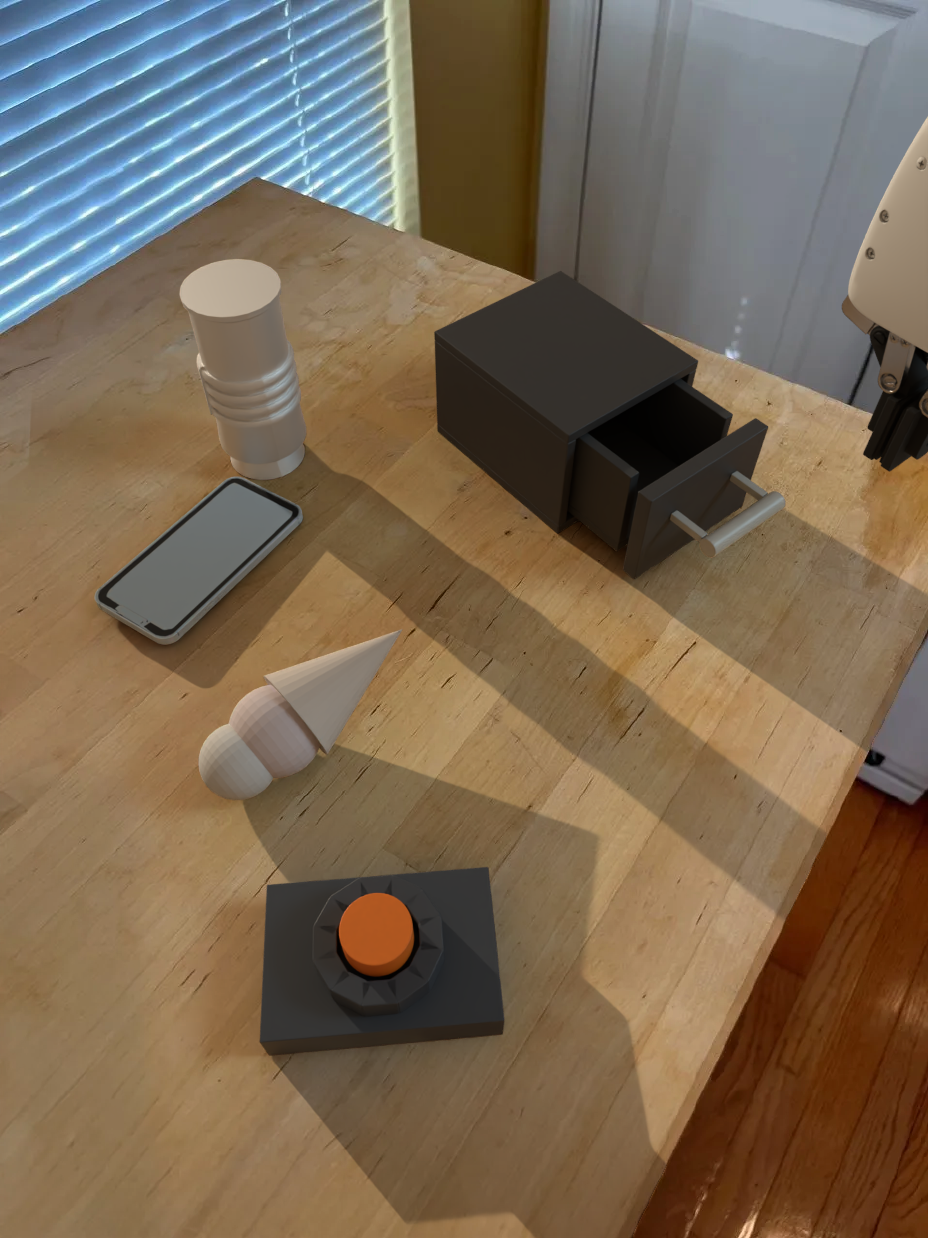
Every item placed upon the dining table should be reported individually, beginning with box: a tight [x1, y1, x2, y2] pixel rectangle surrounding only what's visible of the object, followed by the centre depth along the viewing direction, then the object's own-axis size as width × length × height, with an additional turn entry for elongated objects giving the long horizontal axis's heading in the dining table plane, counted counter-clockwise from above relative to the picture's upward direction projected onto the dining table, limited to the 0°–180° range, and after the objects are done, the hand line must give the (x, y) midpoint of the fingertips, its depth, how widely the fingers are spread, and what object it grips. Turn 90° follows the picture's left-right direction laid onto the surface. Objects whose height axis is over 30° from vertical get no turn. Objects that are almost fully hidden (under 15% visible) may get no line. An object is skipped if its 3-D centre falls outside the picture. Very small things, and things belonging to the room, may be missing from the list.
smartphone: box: [94, 476, 304, 645], centre depth 68 cm, size 7×1×15 cm
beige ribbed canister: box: [179, 258, 307, 481], centre depth 69 cm, size 7×7×15 cm
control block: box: [259, 866, 505, 1057], centre depth 49 cm, size 12×8×4 cm, turn 95°
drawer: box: [567, 379, 786, 580], centre depth 67 cm, size 18×11×8 cm, turn 39°
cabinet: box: [433, 270, 699, 534], centre depth 72 cm, size 15×13×10 cm
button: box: [339, 893, 414, 977], centre depth 47 cm, size 4×4×2 cm
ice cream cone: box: [198, 628, 404, 801], centre depth 57 cm, size 6×6×15 cm
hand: (892, 451), depth 50 cm, fingers closed
